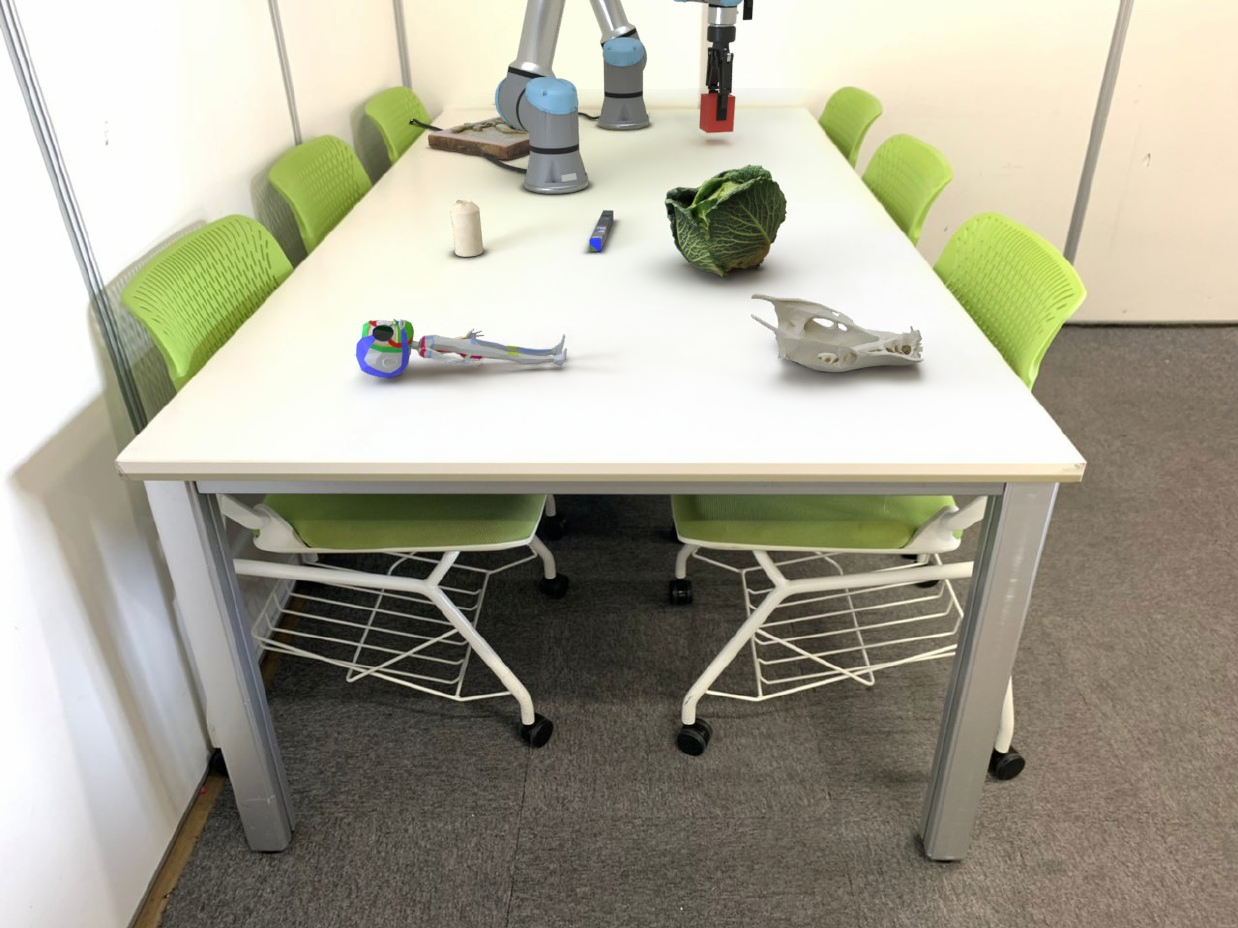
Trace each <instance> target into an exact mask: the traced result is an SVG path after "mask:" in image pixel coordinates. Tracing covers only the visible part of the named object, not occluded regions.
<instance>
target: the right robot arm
mask: <svg viewBox="0 0 1238 928" xmlns="http://www.w3.org/2000/svg"><path fill="white" fill-rule="evenodd" d="M588 2H589V4H590V6H591V8H592V12H593V14H594V16H595V19H596V23H597V25H598V27H599V29H600V32H601V38H600V39H599V44H600V47H601V50H602V58H603V102H602V105H601V110H600V114H599V115H597V116H592V115H589V114H588V113H586V112H581V111H578V116H584V117H585V118H587V119H589V120H598V126H599V127H600V128H602V129H605V130H612V131H634V130H640V129H645V128H647V127H649V125H650V115H649V113H647V108H646V104H645V100H644V71H645V68H646V66H647V61H648V53H647V50H646V47H645V45H644V43H643V42H642V41H641V38H640V35H639V32H638V30H637V27H636V26H635V25H634V24H633V23H630V22H629V19H628V17H627V14H626V12H625V9H624V6H623V3H622V1H621V0H588ZM742 3H743V4H742V21H753V14H754V0H743V2H742Z"/></svg>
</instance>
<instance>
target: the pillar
mask: <svg viewBox="0 0 1238 928" xmlns="http://www.w3.org/2000/svg"><path fill="white" fill-rule="evenodd" d="M614 216H615V215H614V210H613V209H612V210H611V209H602V212H601V214H600V216H599V219H598V221H597V222H596V225H595V227H594V229H593V231H592V234H591V236H590V237H589V241H588V243H589V244H588V245H589V246H588V247H589V248H588V250H589V252H601V251H602V249H603V247H604V245H605V242H606V239H607V237H608V235H609V232H610V231H611V228H612V226H613V223H614Z"/></svg>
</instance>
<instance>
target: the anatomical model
mask: <svg viewBox="0 0 1238 928" xmlns="http://www.w3.org/2000/svg"><path fill="white" fill-rule="evenodd" d="M750 298H751V300H762V301H766V302H770V303H771V305H773V307H774V313H775V314H776V318H777V327H776V326H774V325H772V324H770V323H768V322H767V321H765V320H763V319H762V318H761V317H758V316H757V315H755V314H753V313H751V314H750V317H751V319H753V320H755V321H756V322H758V323H760V324H761V325H762V326H764V327H766V328H767V329H769V330H770V331H772V332H773V334H774V336H775V337H774V338H775V341H776V344H777V351H778V353H777V358H778V359H782V360H788V361H792V362H794V363H798V364H800V365H802V366H803V367H805V368H808V369H811V370H812V371H821V372H828V373H844V372H849V371H853V370H857V369H862V368H868V367H877V366H878V367H880V366H912V365H915V364H919V363H922V362H924V361H925V359H924V358H921V357H922V356H921V353H923V351H924V346H921V345H922V343H921V341H922V340H923V337H922V334H921V331H920V330H919V329H916V330H914V327H913V325H910V327H909V329H910V332H902V333H896V332H893V331H884V330H876V329H870V328H864V327H862V326H860V325H858V324H855V322H854V320H853V319H852V318H850V317H849V316H848V315H846V314H844V313H843V312H841V311H838V310H836V309H833V308H831V307H829V306H826V305H824V304H822V303H820V302H819V303H818V302H816V301H815V302H814V301H811V300H806V299H802V298H799V297H777V296H771V295H766V294H761V293H753V294H752V295H751V297H750ZM836 314H838V315H836ZM815 319H819V320H820V319H821V320H822V319H823V320H826V321H830V322H831V323H832V325H830V326H825V325H823V324H820V323H819V322H817V321H815ZM839 325H843V326H844V327H845V328H846V330H844V329H842V328H840V327H839Z"/></svg>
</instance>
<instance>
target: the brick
mask: <svg viewBox="0 0 1238 928" xmlns="http://www.w3.org/2000/svg"><path fill="white" fill-rule="evenodd" d="M717 96H718V95H717V93H708V92H706V93H700V105H699V125H698V126H699V130H701V131H703V132H704V133H706V134H716V133H733V132H734V126H735V110H736V96H734V95H733V94H732V93H731V94H729V95H728V104H727V120H725V121H716V115H717Z"/></svg>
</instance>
